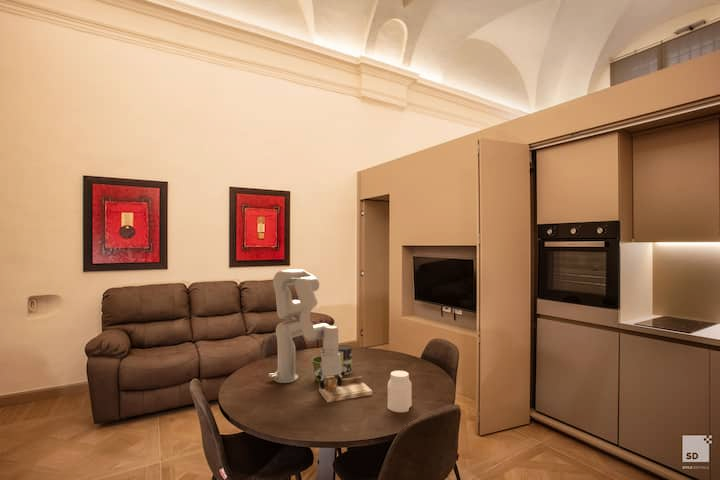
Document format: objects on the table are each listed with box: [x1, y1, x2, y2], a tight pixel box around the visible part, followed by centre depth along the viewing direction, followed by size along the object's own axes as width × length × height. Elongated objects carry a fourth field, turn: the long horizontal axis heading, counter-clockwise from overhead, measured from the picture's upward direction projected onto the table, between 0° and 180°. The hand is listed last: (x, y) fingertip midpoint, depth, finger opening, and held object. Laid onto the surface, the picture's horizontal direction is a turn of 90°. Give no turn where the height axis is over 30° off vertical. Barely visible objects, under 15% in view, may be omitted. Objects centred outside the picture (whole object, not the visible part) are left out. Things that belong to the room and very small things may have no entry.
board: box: [318, 375, 373, 403], centre depth 183 cm, size 23×14×4 cm, turn 112°
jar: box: [387, 370, 413, 413], centre depth 167 cm, size 12×10×15 cm
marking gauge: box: [325, 375, 337, 394], centre depth 180 cm, size 4×11×6 cm, turn 22°
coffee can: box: [338, 344, 353, 375], centre depth 214 cm, size 10×10×14 cm
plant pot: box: [311, 355, 325, 382], centre depth 201 cm, size 12×12×11 cm
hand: (330, 386), depth 182 cm, fingers open, 8 cm apart
